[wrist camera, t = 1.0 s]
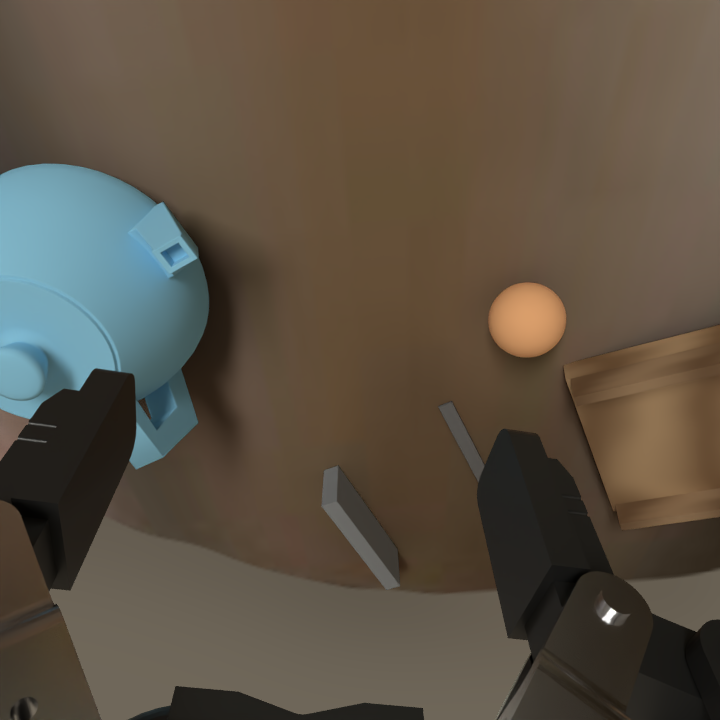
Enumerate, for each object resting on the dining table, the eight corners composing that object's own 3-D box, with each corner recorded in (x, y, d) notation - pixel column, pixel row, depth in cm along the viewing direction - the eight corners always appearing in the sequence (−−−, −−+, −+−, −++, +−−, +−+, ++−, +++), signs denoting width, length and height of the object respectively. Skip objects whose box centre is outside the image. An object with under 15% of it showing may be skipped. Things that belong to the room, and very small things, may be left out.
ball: (542, 257, 35) (564, 293, 31) (562, 316, 37) (585, 355, 33) (472, 287, 36) (485, 324, 32) (495, 342, 38) (510, 382, 34)
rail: (338, 465, 44) (336, 501, 41) (397, 549, 50) (400, 585, 47) (324, 470, 44) (321, 506, 41) (384, 553, 50) (386, 589, 47)
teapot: (-22, 352, 38) (-136, 472, 30) (-66, 114, 30) (-244, 181, 21) (213, 391, 40) (173, 514, 31) (233, 176, 32) (185, 262, 23)
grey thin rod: (451, 401, 41) (452, 402, 40) (517, 529, 48) (517, 530, 48) (438, 406, 41) (438, 407, 41) (505, 532, 48) (506, 534, 48)
